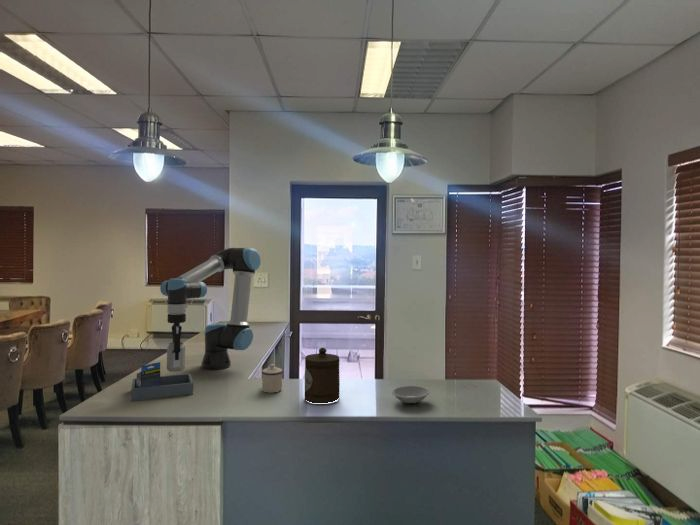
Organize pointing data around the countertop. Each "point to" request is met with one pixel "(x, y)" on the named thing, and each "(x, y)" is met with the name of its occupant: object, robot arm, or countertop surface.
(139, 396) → the tote
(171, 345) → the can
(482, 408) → the countertop surface
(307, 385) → the wooden container
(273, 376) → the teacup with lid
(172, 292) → the robot arm
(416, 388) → the dish
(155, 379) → the blue retail box
